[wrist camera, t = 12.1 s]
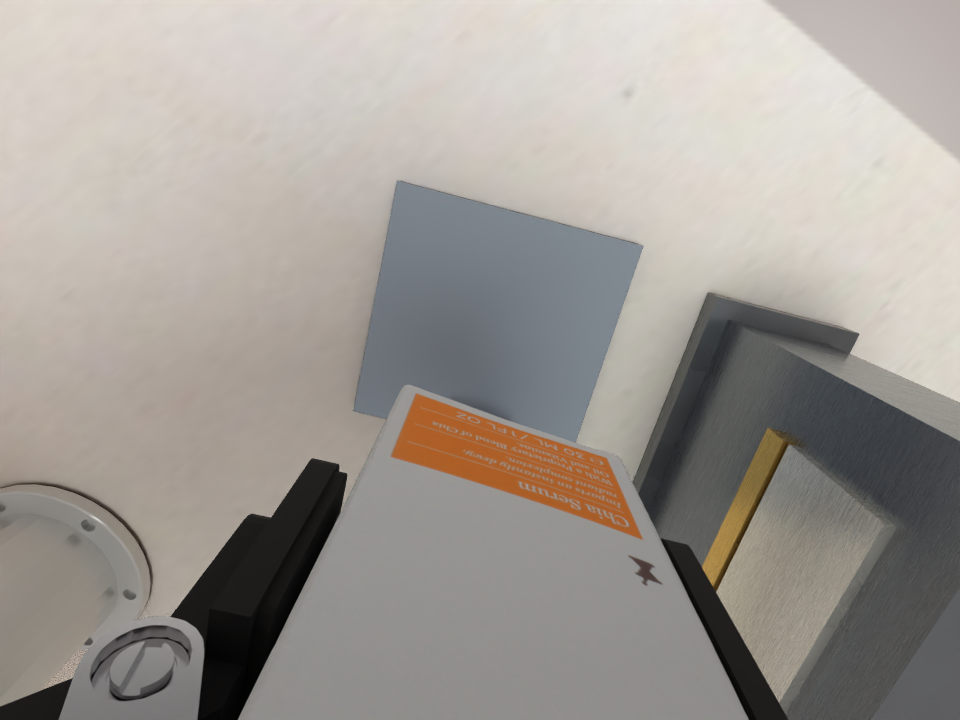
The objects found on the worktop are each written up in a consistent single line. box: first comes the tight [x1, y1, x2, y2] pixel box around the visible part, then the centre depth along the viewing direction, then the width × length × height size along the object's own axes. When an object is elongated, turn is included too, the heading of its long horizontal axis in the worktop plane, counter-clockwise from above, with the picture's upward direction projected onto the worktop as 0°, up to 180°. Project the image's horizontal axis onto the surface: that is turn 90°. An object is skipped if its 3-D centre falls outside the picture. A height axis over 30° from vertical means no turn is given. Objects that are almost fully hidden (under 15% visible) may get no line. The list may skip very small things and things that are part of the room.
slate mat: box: [353, 181, 643, 442], centre depth 28 cm, size 13×13×1 cm
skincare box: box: [238, 385, 749, 720], centre depth 8 cm, size 6×4×12 cm
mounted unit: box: [633, 293, 960, 720], centre depth 22 cm, size 8×16×17 cm, turn 166°
